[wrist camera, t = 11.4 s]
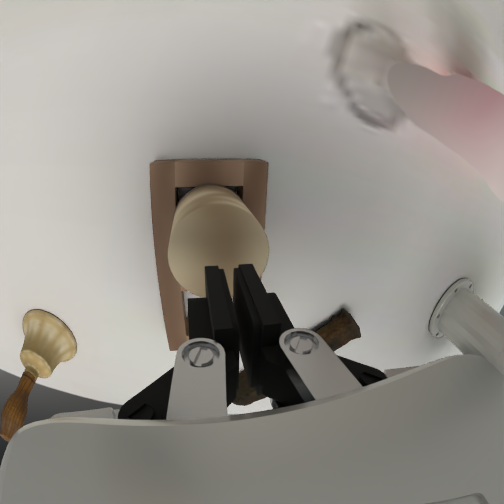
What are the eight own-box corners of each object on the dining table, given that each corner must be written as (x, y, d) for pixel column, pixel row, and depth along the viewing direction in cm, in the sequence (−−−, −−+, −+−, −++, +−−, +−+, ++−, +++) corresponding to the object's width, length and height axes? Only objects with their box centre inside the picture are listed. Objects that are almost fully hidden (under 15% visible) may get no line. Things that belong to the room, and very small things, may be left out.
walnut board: (259, 159, 23) (268, 162, 20) (250, 326, 30) (256, 344, 27) (154, 160, 21) (149, 163, 18) (170, 332, 28) (169, 350, 25)
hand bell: (42, 360, 26) (10, 454, 12) (13, 312, 23) (-40, 405, 8) (87, 358, 27) (62, 468, 13) (58, 305, 24) (4, 420, 10)
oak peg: (240, 177, 23) (273, 203, 14) (238, 238, 25) (266, 296, 16) (175, 178, 22) (163, 206, 13) (177, 240, 24) (171, 302, 15)
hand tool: (343, 302, 32) (361, 324, 28) (350, 321, 34) (367, 343, 30) (213, 373, 33) (217, 401, 28) (229, 387, 34) (234, 413, 30)
